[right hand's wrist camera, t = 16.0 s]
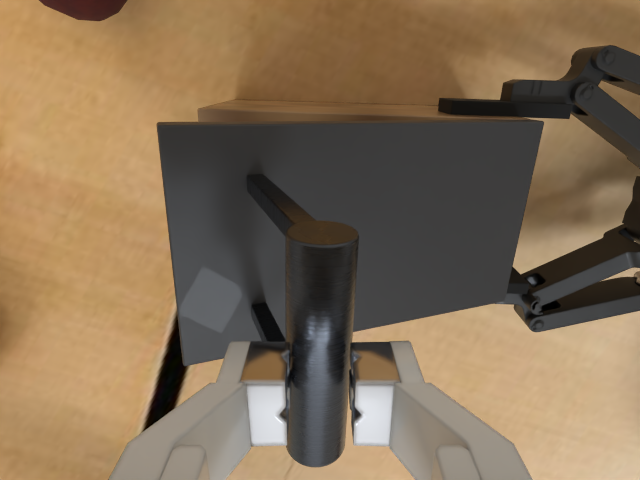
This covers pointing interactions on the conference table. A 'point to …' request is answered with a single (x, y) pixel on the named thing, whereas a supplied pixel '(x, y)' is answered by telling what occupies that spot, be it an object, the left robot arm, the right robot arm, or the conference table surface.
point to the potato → (86, 8)
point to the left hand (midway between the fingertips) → (432, 197)
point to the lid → (336, 239)
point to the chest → (325, 112)
